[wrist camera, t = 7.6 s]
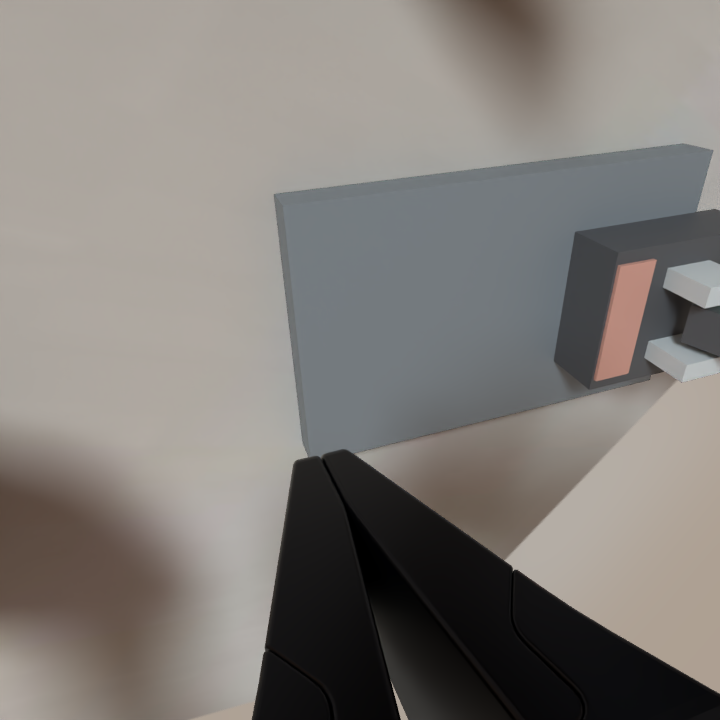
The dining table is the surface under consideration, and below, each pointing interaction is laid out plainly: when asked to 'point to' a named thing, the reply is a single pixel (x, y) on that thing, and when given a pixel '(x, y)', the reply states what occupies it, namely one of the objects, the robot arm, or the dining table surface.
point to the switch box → (493, 290)
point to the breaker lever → (703, 329)
